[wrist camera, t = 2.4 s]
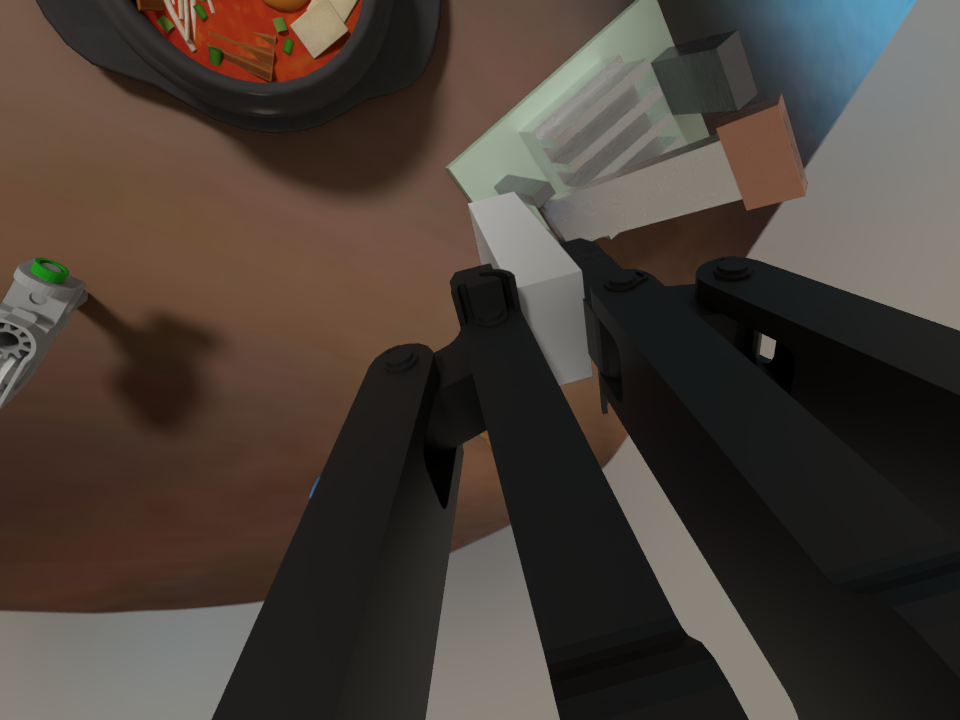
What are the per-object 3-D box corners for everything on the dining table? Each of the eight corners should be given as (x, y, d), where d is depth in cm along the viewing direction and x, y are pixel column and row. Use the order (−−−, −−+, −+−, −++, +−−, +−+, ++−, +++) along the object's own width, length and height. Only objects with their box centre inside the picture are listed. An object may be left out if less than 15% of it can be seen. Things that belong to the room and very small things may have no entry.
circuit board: (531, 286, 48) (536, 290, 47) (445, 167, 41) (448, 168, 40) (702, 139, 48) (710, 139, 46) (643, -8, 41) (652, -11, 40)
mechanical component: (129, 250, 36) (74, 284, 28) (65, 358, 38) (-6, 422, 29) (85, 226, 35) (12, 255, 26) (20, 339, 37) (-69, 401, 28)
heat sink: (546, 263, 46) (589, 286, 39) (479, 166, 41) (516, 171, 34) (700, 129, 46) (773, 127, 39) (654, 12, 40) (729, -16, 33)
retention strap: (569, 247, 40) (563, 256, 39) (533, 191, 37) (527, 200, 36) (807, 183, 28) (804, 195, 27) (781, 92, 25) (777, 104, 24)
